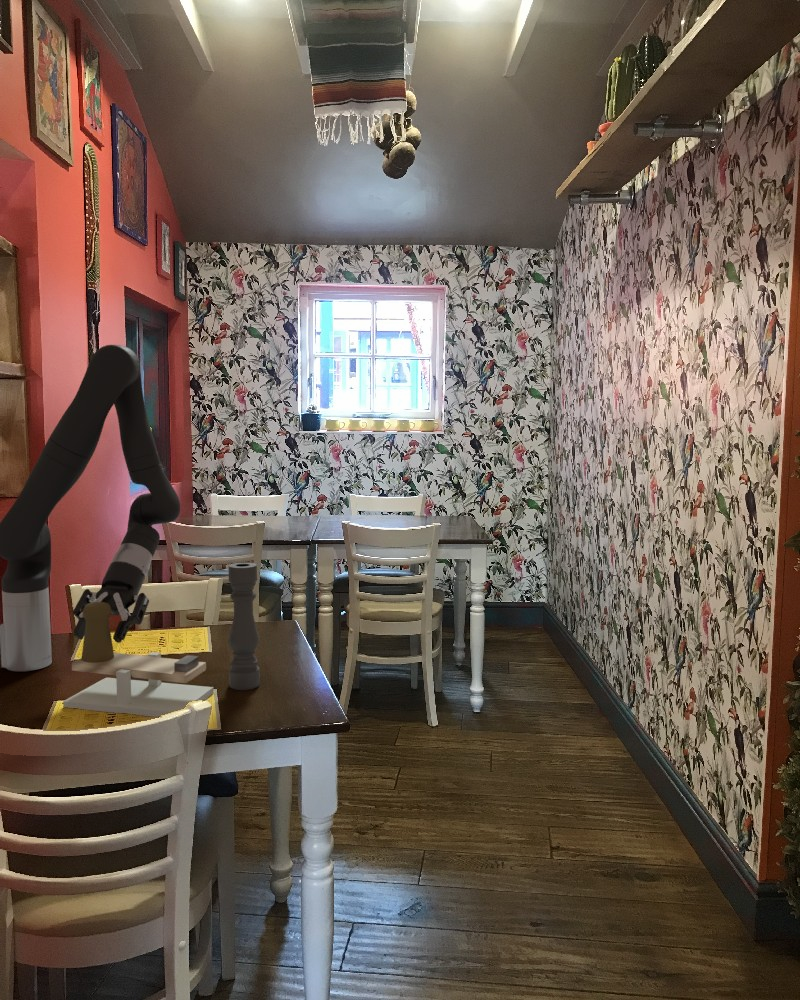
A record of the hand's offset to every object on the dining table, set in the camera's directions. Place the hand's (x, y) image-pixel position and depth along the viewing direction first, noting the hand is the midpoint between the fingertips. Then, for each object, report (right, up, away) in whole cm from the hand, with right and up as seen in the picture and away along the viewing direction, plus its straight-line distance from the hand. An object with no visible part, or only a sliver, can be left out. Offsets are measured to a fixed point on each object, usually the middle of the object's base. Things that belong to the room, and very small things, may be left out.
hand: (97, 639), depth 155 cm
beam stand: (+9, -12, -1) cm, 15 cm away
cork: (0, -4, +1) cm, 4 cm away
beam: (+9, -6, -1) cm, 11 cm away
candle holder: (+27, -11, +8) cm, 31 cm away
